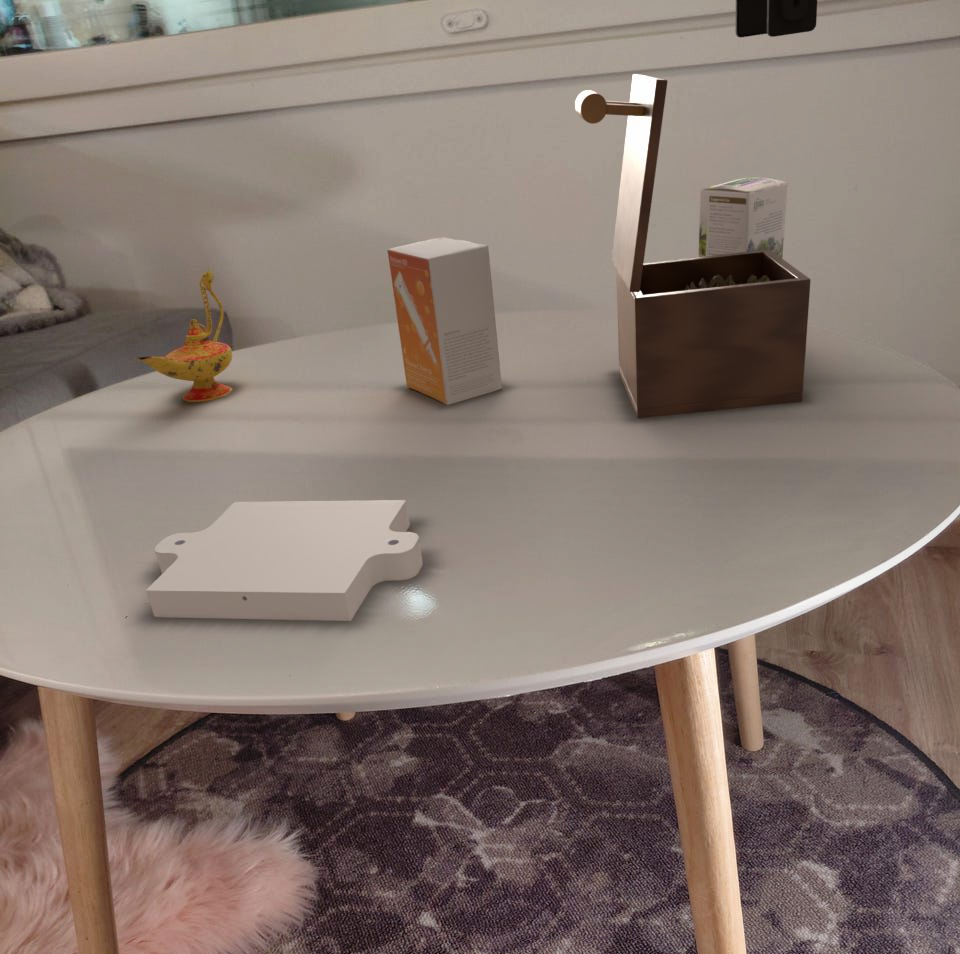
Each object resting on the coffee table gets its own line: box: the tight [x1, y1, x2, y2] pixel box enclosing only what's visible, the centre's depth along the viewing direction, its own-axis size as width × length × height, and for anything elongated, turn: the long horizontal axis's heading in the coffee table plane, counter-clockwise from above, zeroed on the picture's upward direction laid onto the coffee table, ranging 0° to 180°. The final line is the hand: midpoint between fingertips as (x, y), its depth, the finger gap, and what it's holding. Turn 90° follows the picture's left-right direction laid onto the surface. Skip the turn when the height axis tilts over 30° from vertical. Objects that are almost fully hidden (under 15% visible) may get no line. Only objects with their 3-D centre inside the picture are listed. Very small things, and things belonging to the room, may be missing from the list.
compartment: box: [615, 249, 812, 419], centre depth 84 cm, size 14×13×10 cm
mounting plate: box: [145, 499, 424, 622], centre depth 64 cm, size 18×13×2 cm
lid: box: [574, 73, 668, 292], centre depth 77 cm, size 14×13×6 cm
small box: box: [387, 237, 503, 406], centre depth 90 cm, size 8×6×13 cm
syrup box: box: [698, 177, 788, 259], centre depth 93 cm, size 6×6×14 cm
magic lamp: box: [133, 269, 233, 403], centre depth 97 cm, size 7×18×11 cm, turn 167°
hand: (773, 34), depth 71 cm, fingers open, 9 cm apart
